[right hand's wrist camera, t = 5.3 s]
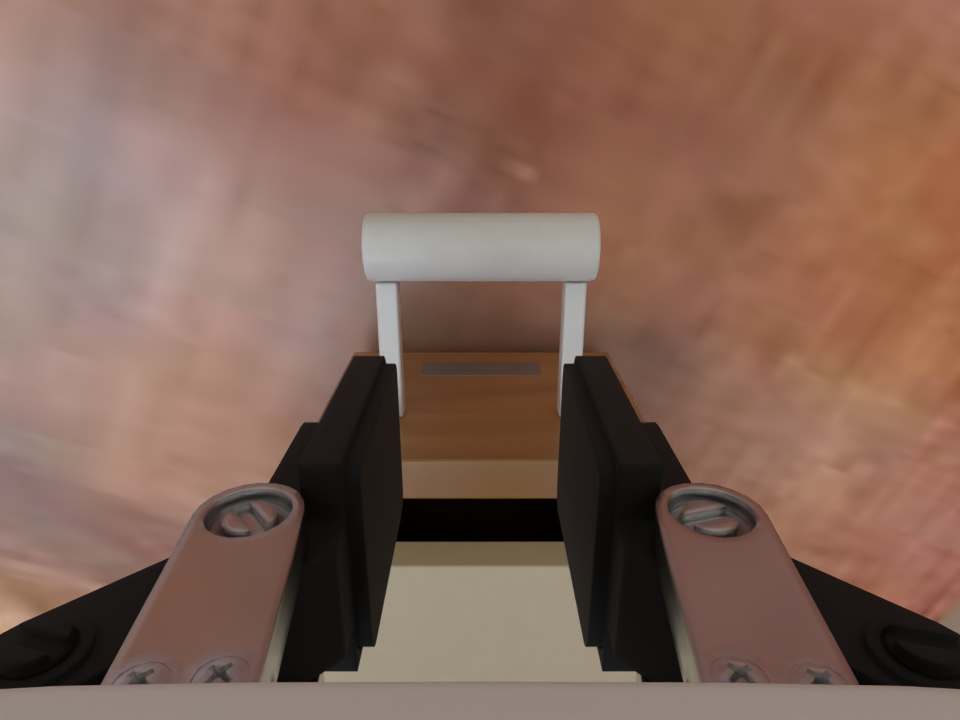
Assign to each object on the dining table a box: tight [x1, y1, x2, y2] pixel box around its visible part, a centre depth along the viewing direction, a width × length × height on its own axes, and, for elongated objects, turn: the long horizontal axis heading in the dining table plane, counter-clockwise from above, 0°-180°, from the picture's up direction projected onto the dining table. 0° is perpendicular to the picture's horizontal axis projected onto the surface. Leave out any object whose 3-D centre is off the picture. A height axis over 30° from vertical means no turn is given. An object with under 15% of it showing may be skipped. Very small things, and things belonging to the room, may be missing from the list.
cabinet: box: [324, 542, 636, 682], centre depth 24 cm, size 15×11×10 cm
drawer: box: [318, 213, 644, 542], centre depth 22 cm, size 20×9×8 cm, turn 0°
